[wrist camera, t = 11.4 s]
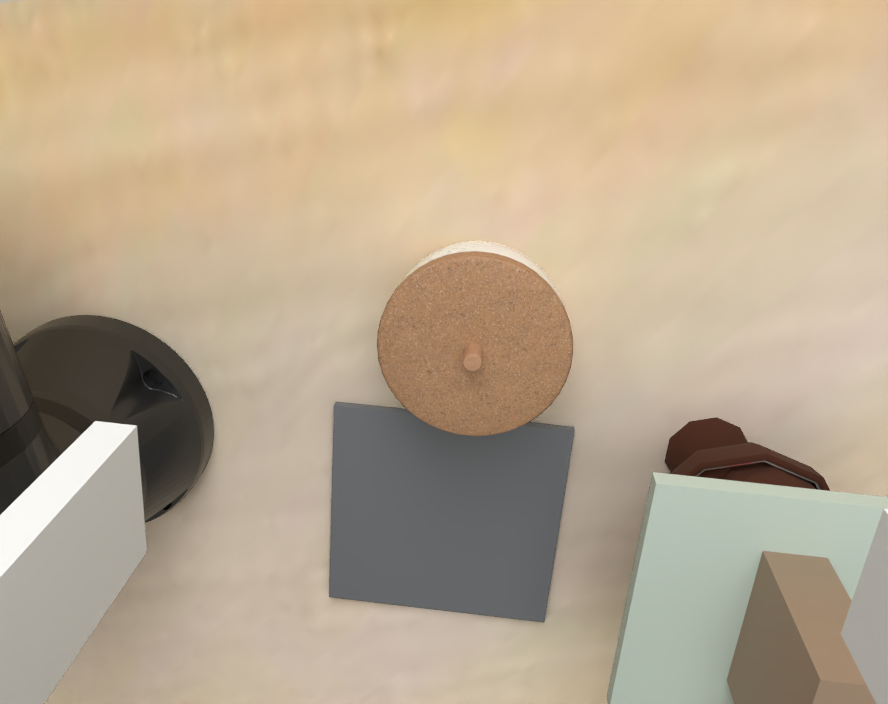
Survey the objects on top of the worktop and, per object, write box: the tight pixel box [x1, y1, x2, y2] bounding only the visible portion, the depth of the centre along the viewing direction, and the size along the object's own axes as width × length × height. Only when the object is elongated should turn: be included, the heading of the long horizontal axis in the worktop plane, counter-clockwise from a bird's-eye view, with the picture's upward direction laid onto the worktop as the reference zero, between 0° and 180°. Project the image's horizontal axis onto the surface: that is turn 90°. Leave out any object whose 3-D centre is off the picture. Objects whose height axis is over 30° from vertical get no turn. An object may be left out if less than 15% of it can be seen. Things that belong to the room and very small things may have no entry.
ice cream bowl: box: [665, 418, 830, 491], centre depth 48 cm, size 11×11×15 cm
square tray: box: [329, 402, 574, 622], centre depth 58 cm, size 16×16×1 cm
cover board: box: [607, 472, 888, 704], centre depth 37 cm, size 14×14×9 cm
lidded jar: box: [377, 241, 573, 436], centre depth 48 cm, size 11×11×9 cm
